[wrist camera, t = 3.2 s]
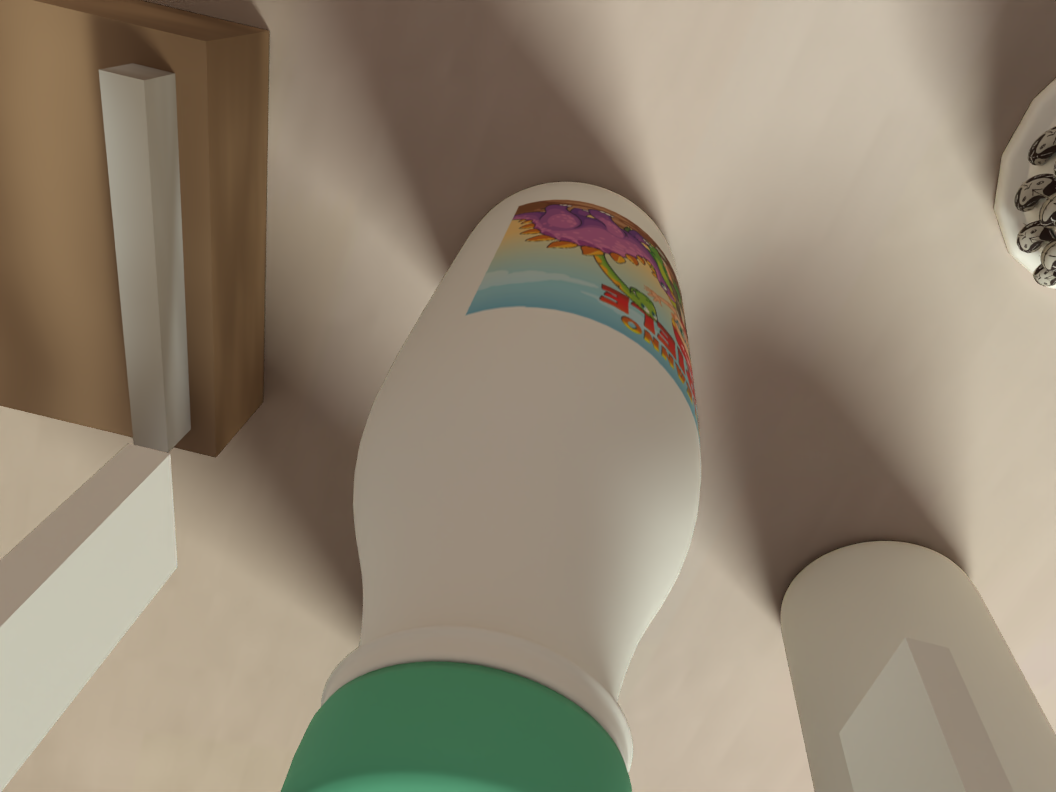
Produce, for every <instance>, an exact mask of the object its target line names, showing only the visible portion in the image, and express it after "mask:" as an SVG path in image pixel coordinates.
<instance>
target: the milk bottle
mask: <svg viewBox="0 0 1056 792" xmlns="http://www.w3.org/2000/svg"><path fill="white" fill-rule="evenodd" d="M700 486H701V452H700V437H699V422H698V413H697V405H696V397H695V389H694V382H693V374H692V366H691V358H690V350H689V343H688V336H687V330H686V323H685V316H684V309H683V302H682V296H681V289H680V283H679V278H678V274H677V269H676V265H675V261H674V258H673V255H672V252H671V249H670V247H669V245H668V243H667V241H666V239H665V237H664V236H663V234H662V233H661V231H660V229H659V228H658V227H657V226H656V224H655V223H654V222H653V221H652V219H651V218H650V217H649V216H648V215H647V214H646V213H645V212H644V211H642V210H641V209H640V208H639V207H638V206H637V205H635V204H634V203H632V202H631V201H629V200H628V199H626V198H624V197H623V196H621V195H619V194H617V193H615V192H613V191H610V190H608V189H605V188H602V187H599V186H596V185H591V184H586V183H579V182H552V183H546V184H540V185H536V186H533V187H530V188H527V189H524V190H522V191H519V192H517V193H515V194H513V195H511V196H510V197H508V198H506V199H505V200H503V201H502V202H500V203H499V204H497V205H496V206H495V207H494V208H493V209H492V210H490V211H489V212H488V213H487V214H486V215H485V216H484V217H483V219H482V220H481V221H480V222H479V224H478V225H477V226H476V228H475V229H474V230H473V231H472V233H471V234H470V235H469V237H468V239H467V240H466V242H465V243H464V245H463V247H462V248H461V250H460V251H459V253H458V255H457V256H456V258H455V259H454V261H453V263H452V264H451V266H450V268H449V269H448V271H447V273H446V274H445V276H444V277H443V279H442V281H441V282H440V284H439V286H438V287H437V289H436V291H435V292H434V294H433V295H432V297H431V299H430V300H429V302H428V304H427V305H426V307H425V309H424V310H423V312H422V314H421V316H420V317H419V319H418V321H417V322H416V324H415V326H414V327H413V329H412V331H411V333H410V334H409V336H408V338H407V339H406V341H405V343H404V344H403V346H402V348H401V350H400V351H399V353H398V355H397V357H396V359H395V361H394V362H393V364H392V366H391V368H390V370H389V372H388V374H387V376H386V378H385V380H384V382H383V384H382V386H381V388H380V390H379V392H378V394H377V396H376V398H375V401H374V403H373V405H372V407H371V410H370V413H369V416H368V419H367V422H366V425H365V428H364V432H363V435H362V438H361V441H360V446H359V451H358V456H357V462H356V468H355V474H354V491H353V513H354V525H355V534H356V541H357V547H358V553H359V560H360V566H361V573H362V583H363V614H362V627H361V637H360V642H359V647H358V648H356V649H355V650H354V651H352V652H351V653H350V654H348V655H347V656H346V657H345V658H344V659H343V660H342V661H341V662H340V663H339V664H338V665H337V667H336V668H335V669H334V670H333V672H332V673H331V675H330V677H329V678H328V680H327V682H326V685H325V688H324V690H323V695H322V700H321V708H320V709H319V710H318V712H317V713H316V714H315V715H314V717H313V719H312V721H311V722H310V724H309V726H308V728H307V730H306V732H305V734H304V736H303V739H302V741H301V743H300V745H299V747H298V749H297V751H296V753H295V755H294V758H293V761H292V763H291V766H290V769H289V771H288V774H287V777H286V779H285V782H284V785H283V787H282V790H281V792H632V788H631V783H630V779H629V775H628V773H629V770H630V767H631V763H632V758H633V742H632V736H631V732H630V728H629V725H628V722H627V720H626V717H625V715H624V713H623V712H622V710H621V708H620V706H619V705H618V703H617V701H618V697H619V693H620V690H621V686H622V683H623V680H624V677H625V674H626V671H627V669H628V666H629V663H630V661H631V659H632V656H633V654H634V652H635V649H636V647H637V645H638V643H639V641H640V639H641V638H642V636H643V634H644V633H645V631H646V630H647V628H648V626H649V625H650V623H651V622H652V620H653V618H654V617H655V615H656V614H657V612H658V611H659V609H660V608H661V606H662V605H663V603H664V601H665V599H666V598H667V596H668V594H669V592H670V591H671V589H672V587H673V585H674V583H675V581H676V579H677V578H678V576H679V573H680V571H681V568H682V566H683V563H684V560H685V558H686V555H687V553H688V550H689V547H690V544H691V540H692V536H693V532H694V528H695V523H696V519H697V515H698V507H699V498H700Z"/></svg>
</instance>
